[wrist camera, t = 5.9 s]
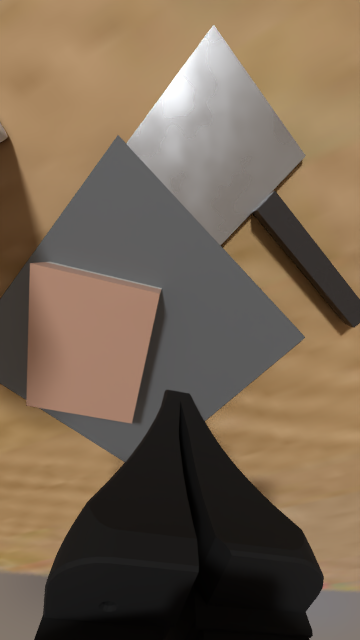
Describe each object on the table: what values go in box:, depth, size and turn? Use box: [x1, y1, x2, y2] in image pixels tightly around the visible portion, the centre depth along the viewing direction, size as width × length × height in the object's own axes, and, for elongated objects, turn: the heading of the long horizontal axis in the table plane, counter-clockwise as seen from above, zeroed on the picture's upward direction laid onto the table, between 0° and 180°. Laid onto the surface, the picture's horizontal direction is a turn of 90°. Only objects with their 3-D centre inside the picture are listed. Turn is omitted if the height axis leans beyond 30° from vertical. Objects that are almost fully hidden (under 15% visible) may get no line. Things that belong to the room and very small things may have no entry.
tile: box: [26, 262, 162, 424], centre depth 15 cm, size 2×10×8 cm
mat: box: [0, 136, 305, 462], centre depth 16 cm, size 19×18×1 cm
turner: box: [126, 25, 360, 327], centre depth 13 cm, size 19×7×1 cm, turn 46°
